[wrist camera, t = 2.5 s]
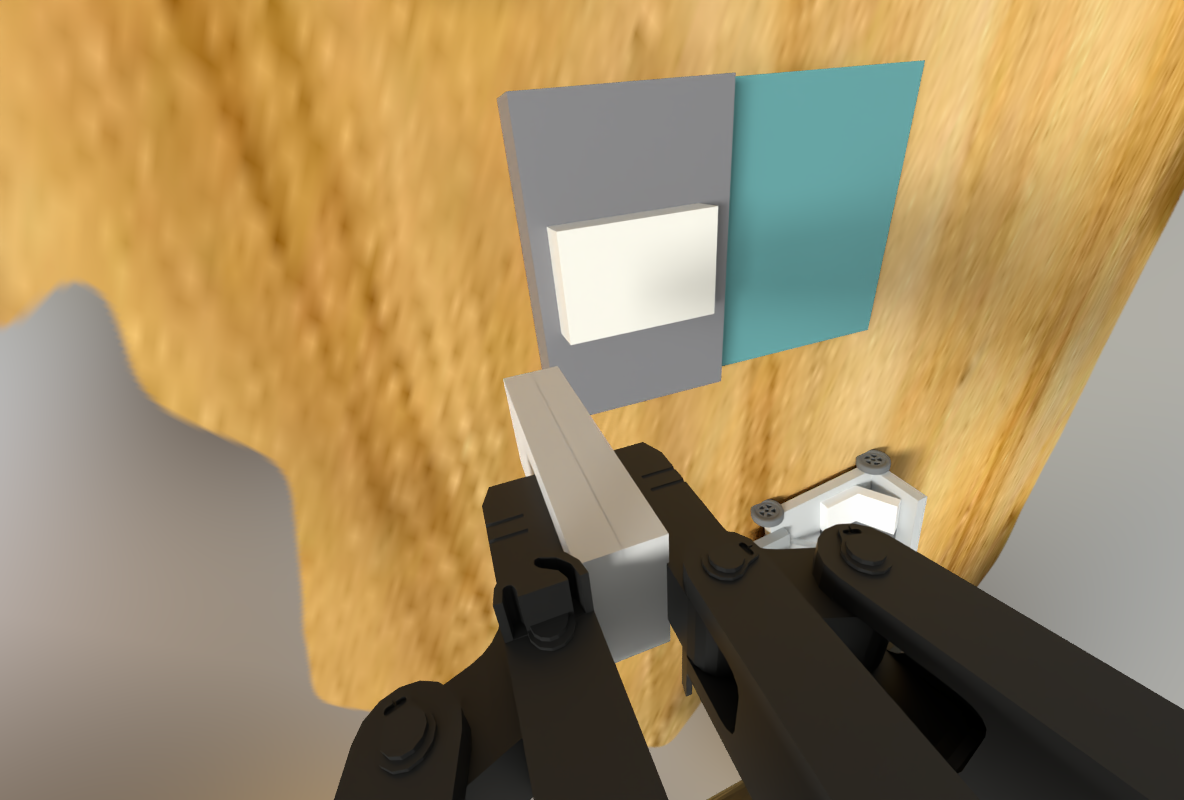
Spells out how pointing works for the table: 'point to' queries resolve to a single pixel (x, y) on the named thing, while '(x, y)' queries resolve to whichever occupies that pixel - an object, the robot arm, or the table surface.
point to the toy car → (845, 507)
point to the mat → (811, 201)
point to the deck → (621, 213)
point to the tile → (634, 270)
